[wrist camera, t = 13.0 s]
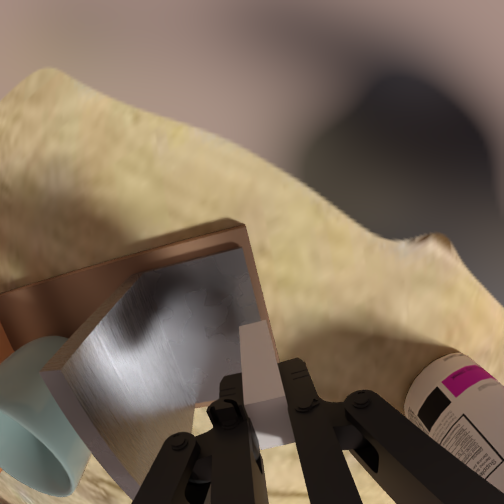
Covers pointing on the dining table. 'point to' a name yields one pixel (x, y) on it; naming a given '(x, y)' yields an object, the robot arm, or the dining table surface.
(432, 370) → the supplement can
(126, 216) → the dining table surface
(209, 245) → the shelf
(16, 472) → the cup
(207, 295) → the bookend
